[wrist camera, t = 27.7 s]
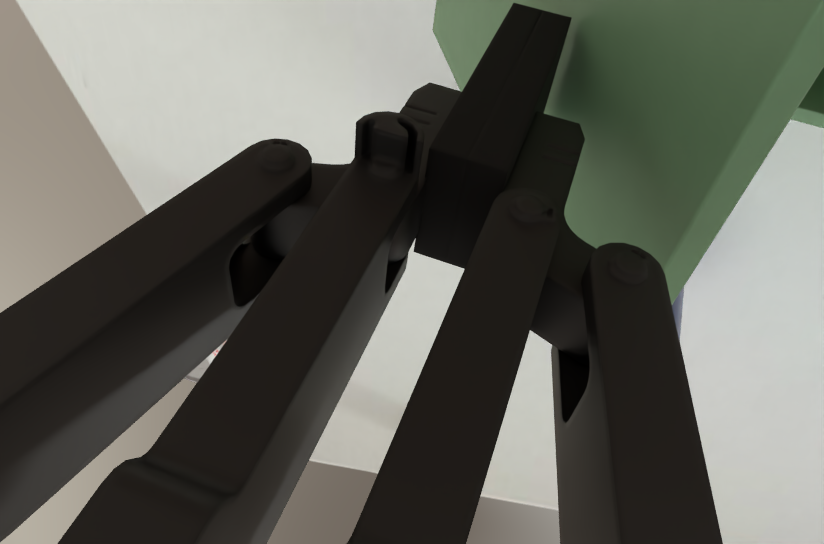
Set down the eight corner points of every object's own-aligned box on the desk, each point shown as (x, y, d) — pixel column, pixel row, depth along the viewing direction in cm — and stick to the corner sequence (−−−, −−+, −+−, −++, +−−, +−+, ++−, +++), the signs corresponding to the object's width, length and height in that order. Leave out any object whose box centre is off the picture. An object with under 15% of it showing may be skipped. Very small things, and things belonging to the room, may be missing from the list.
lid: (891, -35, 9) (843, -35, 9) (623, 383, 17) (595, 387, 17) (499, -289, 20) (474, -291, 20) (450, 30, 28) (431, 30, 28)
